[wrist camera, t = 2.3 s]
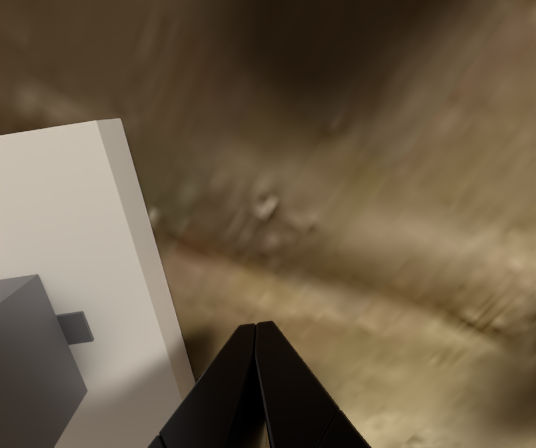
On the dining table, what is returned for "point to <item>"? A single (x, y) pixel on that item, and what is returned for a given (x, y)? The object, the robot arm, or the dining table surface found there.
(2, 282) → the fader
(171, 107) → the dining table surface
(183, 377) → the console
